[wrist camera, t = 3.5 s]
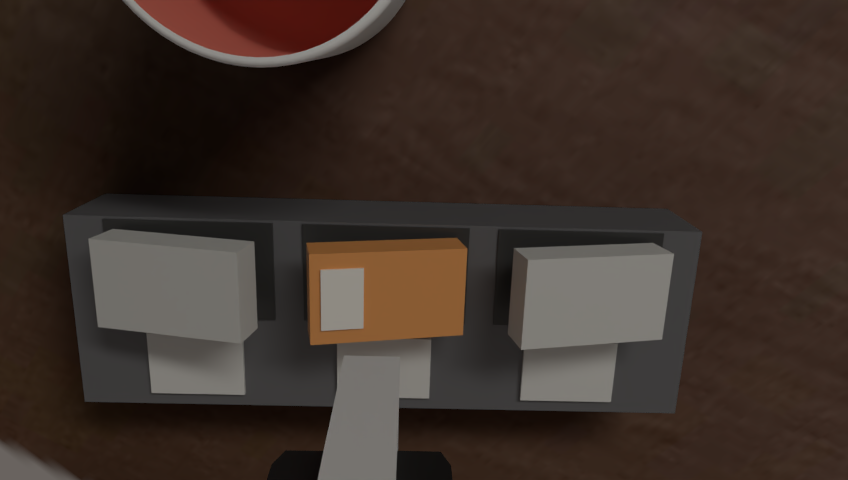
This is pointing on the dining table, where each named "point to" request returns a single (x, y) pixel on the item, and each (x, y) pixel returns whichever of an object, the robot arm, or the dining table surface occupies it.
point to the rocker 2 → (385, 289)
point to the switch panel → (419, 357)
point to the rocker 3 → (588, 294)
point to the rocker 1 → (175, 284)
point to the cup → (266, 27)
